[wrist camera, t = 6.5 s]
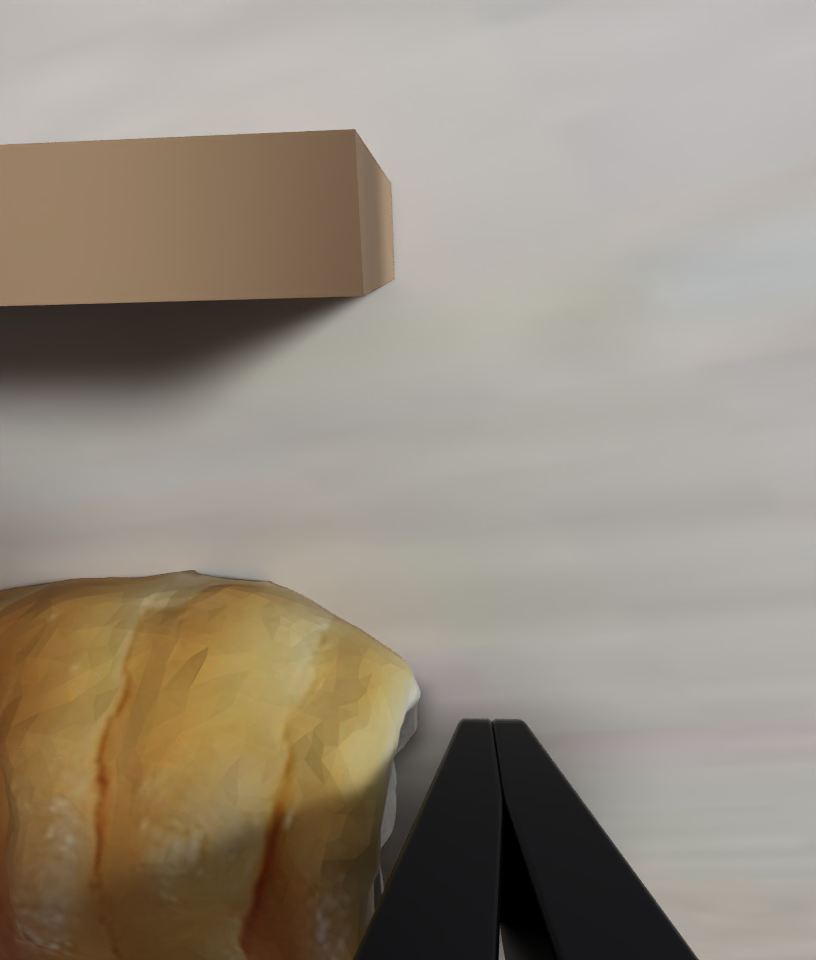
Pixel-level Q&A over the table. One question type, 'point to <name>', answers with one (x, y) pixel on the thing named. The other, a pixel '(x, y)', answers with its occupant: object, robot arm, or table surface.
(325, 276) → the wooden frame
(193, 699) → the pastry
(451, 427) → the table surface
